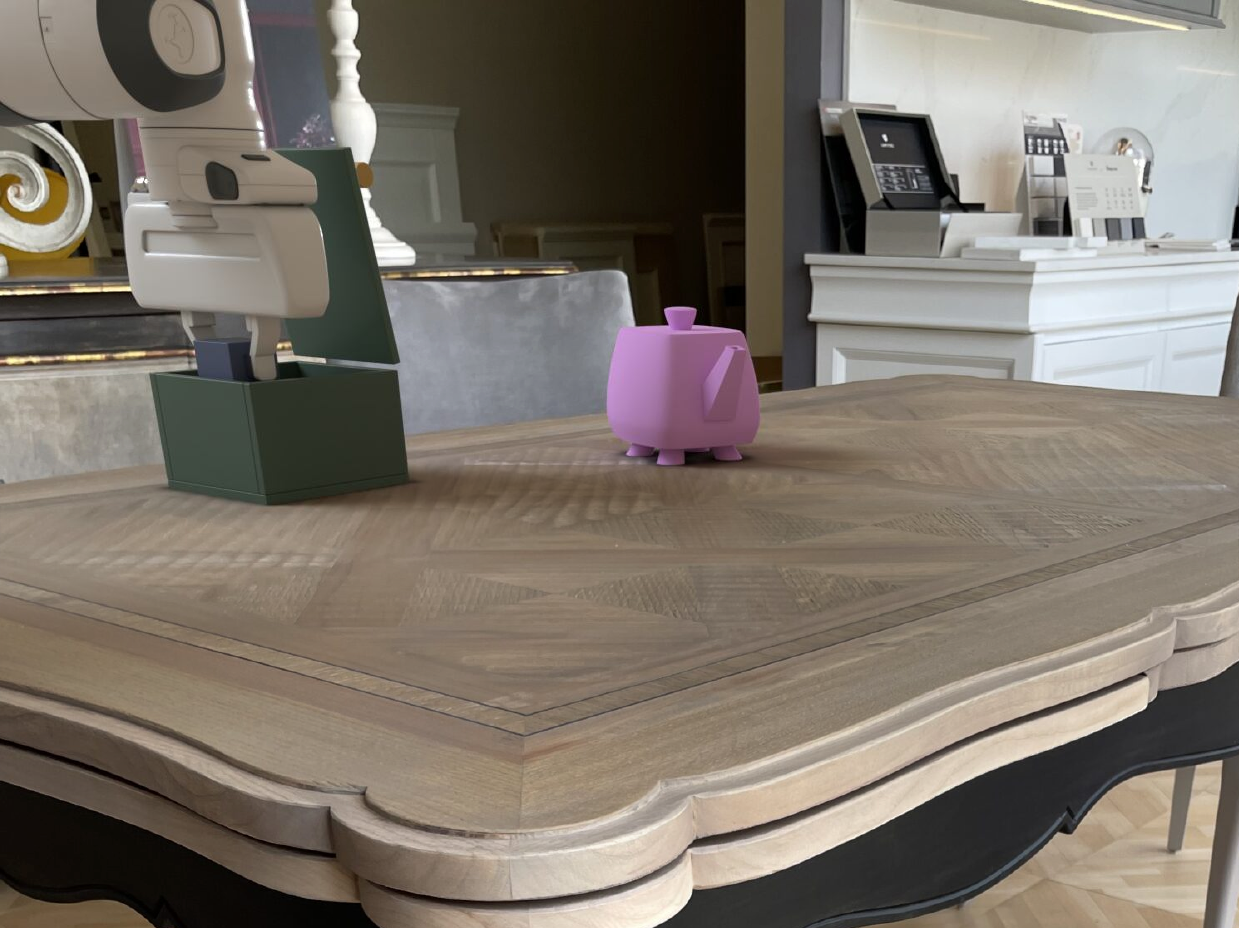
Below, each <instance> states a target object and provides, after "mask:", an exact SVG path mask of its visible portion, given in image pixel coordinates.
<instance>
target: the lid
mask: <svg viewBox="0 0 1239 928" xmlns="http://www.w3.org/2000/svg"><path fill="white" fill-rule="evenodd" d="M267 149H271V150H273V151H275V152H276V153H278V154H279V155H281V156H282V157H284V158H286V159H288V160H290V161H291V162H293V163H295V164H297V165H299V166H301V167H303V168H305V169H307V170H308V171H310V172H311V173H312V174H313V175H314V177H315V179H316V184H317V186H316V187H317V194H318V196H317V201H316V203H315V204H312V205H304V206H307V207H308V208H310V209H311V210H312V211H313V212H314V214H315V215H316V217H317V219H318V221H319V224H320V227H321V231H322V236H323V242H324V249H325V256H326V263H327V272H328V281H329V302H328V305H327V308H326V311H325V313H324V315H323V316H322V317H315V318H295V319H290V318H283V319H284V323H285V327H286V331H287V335H288V338H289V342H290V345H291V346H290V347H291V349H292V353H293V355H294V356H296V357H297V356H298V357H305V358H316V359H317V358H318V359H326V360H327V359H328V360H338V361H348V362H361V363H370V364H379V365H380V364H381V365H391V366H394V365H397V364H400V363H401V359H400V354H399V350H398V346H397V341H396V336H395V332H394V328H393V324H392V321H391V320H392V319H391V315H390V311H389V306H388V302H387V297H386V293H385V289H384V284H383V281H382V275H381V272H380V267H379V263H378V258H377V253H376V250H375V245H374V241H373V237H372V232H371V227H370V224H369V219H368V215H367V210H366V207H365V206H366V205H365V202H364V197H363V193H362V189H368V188H370V187H371V186H372V185H373V183H374V172H373V169H372V168H371V166H370V165H369V164H368V163H367V162H365V161H355V158H354V154H353V150H352V147H351V146H324V147H323V146H321V147H320V146H319V147H314V146H313V147H267Z"/></svg>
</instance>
